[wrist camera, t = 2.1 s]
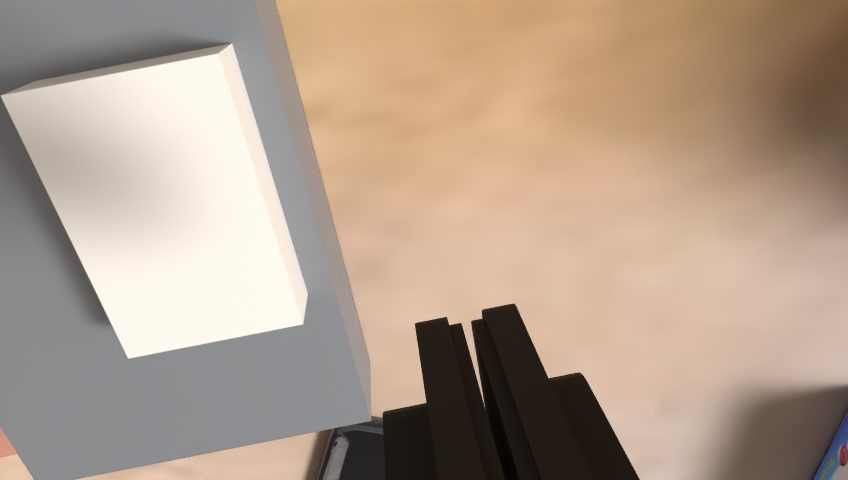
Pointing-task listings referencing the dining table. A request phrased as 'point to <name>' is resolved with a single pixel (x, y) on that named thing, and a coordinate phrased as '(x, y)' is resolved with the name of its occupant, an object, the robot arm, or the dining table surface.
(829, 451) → the medicine box
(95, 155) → the cream block
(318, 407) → the grey block
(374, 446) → the phone
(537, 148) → the dining table surface
